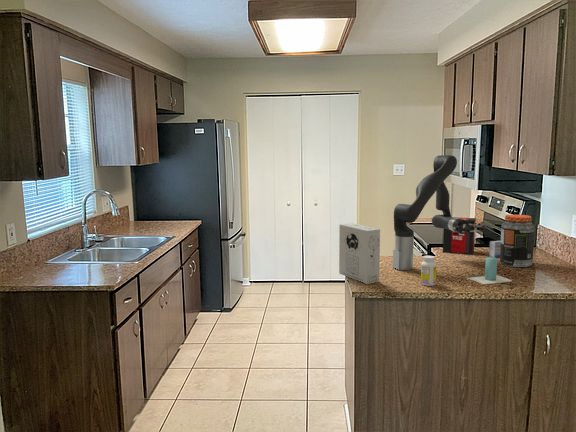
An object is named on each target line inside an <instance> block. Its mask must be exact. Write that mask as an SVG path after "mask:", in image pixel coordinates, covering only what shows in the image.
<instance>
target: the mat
mask: <svg viewBox="0 0 576 432" xmlns="http://www.w3.org/2000/svg"><path fill="white" fill-rule="evenodd" d="M466 279H468V280H471V281H473V282H476V283H479V284H481V285H492V284H500V283H501V284H502V283H510V282H513V280H512V279H509V278H508V277H507V278H506V277H503V276H501V275H498V274H496V280H495V281H489V280H485V274H479V275H469V276H468V275H467V276H466Z"/></svg>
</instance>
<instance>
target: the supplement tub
mask: <svg viewBox="0 0 576 432" xmlns="http://www.w3.org/2000/svg"><path fill="white" fill-rule="evenodd" d="M500 241H501V246H500V257H499V261H500V263H501V264H502V265H505V266H507V267H512V268H527V267H530V266H532V265H533V264H534V263H533V262H534V261H533V260H534V248H535V247H534V245H535V244H534V243H535V225H534V224H533V222H532V216H531V215H527V214H506V215H504V222H503V223H502V224H501V227H500Z"/></svg>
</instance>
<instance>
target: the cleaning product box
mask: <svg viewBox="0 0 576 432" xmlns="http://www.w3.org/2000/svg"><path fill="white" fill-rule="evenodd" d="M453 217H454V218H460V219H464V220H467V221H468V222H469V223H470V224H472V225H476V221H477V220H476V219H477V218H476V217H475V218H473V217H455V216H453ZM474 230H475V228H474ZM442 236H443V238H442V239H443V240H442V253H447V254H456V255H468V256H474V255H473V254H474V253H475V243H476V242H475V240H476V232H470V233H465V234H460V233H457V232H453V231H451V230H448V229H443V235H442Z"/></svg>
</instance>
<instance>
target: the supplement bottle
mask: <svg viewBox="0 0 576 432" xmlns="http://www.w3.org/2000/svg"><path fill="white" fill-rule="evenodd" d="M420 284H421V285H422V286H427V287H428V286H432V287H434V286H435V285H437V263H436V262H435V256H433V255H424V256H423V261H422V262H421V265H420Z"/></svg>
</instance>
